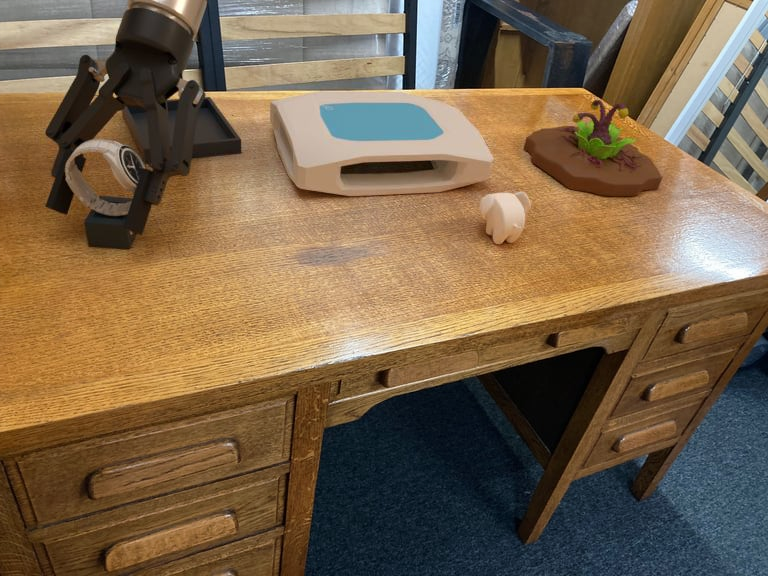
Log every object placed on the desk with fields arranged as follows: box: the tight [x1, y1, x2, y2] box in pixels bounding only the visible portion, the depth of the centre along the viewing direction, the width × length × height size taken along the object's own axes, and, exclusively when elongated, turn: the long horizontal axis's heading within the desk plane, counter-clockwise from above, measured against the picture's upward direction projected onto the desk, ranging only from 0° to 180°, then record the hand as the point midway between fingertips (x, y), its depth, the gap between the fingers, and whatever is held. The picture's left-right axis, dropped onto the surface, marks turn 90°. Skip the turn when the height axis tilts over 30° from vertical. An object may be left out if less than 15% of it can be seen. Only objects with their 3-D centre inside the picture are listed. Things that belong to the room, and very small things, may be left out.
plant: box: [523, 99, 663, 197], centre depth 98 cm, size 20×20×11 cm
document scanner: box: [269, 90, 495, 197], centre depth 91 cm, size 21×28×6 cm
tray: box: [121, 96, 242, 164], centre depth 91 cm, size 15×13×2 cm
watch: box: [65, 138, 148, 250], centre depth 67 cm, size 6×8×11 cm
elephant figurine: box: [478, 190, 532, 245], centre depth 79 cm, size 7×8×6 cm
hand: (94, 220), depth 66 cm, fingers closed on watch, 8 cm apart
